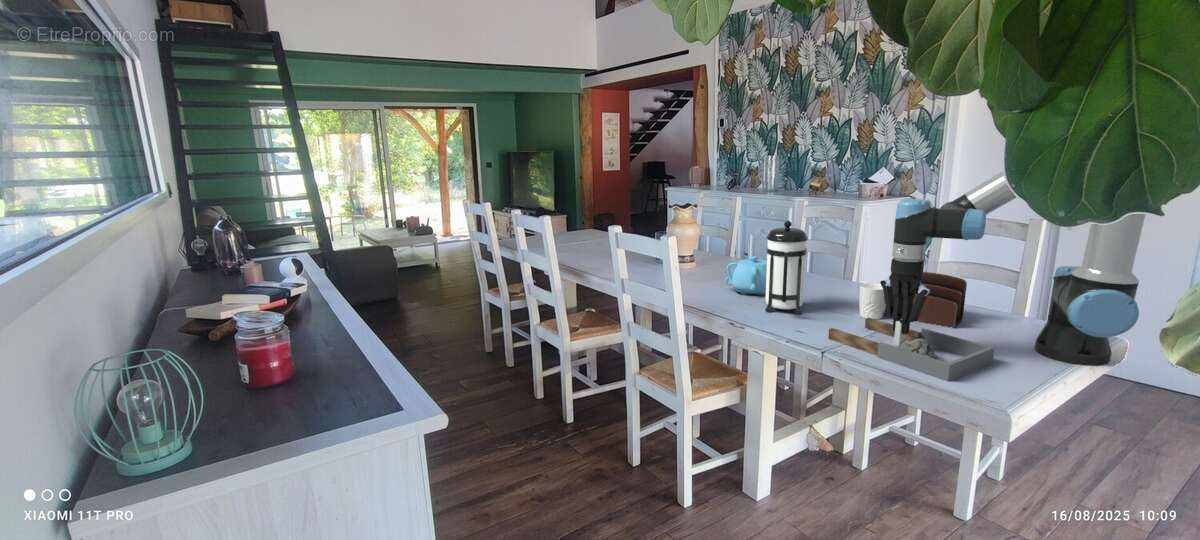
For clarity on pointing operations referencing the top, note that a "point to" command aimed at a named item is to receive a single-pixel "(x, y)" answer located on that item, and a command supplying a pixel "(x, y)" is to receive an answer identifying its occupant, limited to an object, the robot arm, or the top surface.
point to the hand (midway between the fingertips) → (899, 343)
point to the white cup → (871, 301)
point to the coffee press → (785, 268)
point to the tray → (973, 360)
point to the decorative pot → (748, 276)
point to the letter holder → (942, 299)
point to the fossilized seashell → (919, 347)
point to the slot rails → (866, 343)
